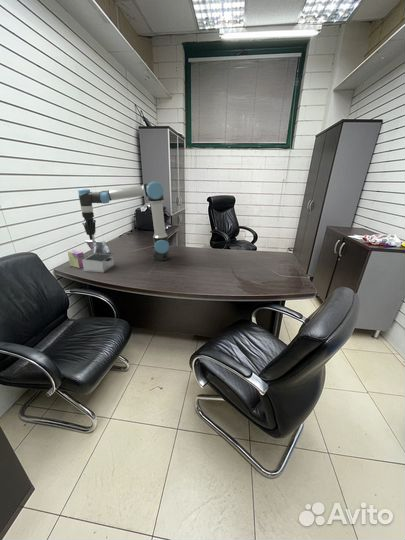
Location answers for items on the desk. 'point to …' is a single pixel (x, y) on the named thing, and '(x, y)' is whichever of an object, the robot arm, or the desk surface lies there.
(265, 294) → the desk surface
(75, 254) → the box
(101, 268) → the grey boxy piece
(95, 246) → the lid
